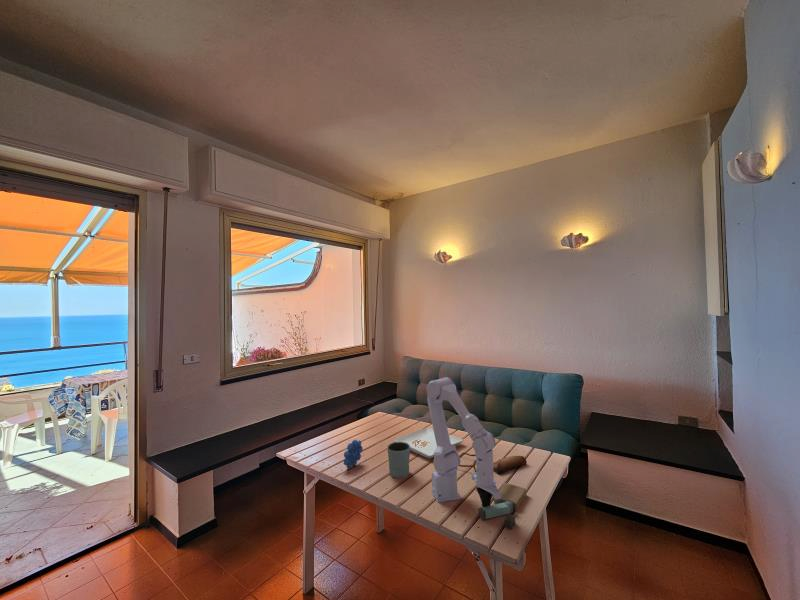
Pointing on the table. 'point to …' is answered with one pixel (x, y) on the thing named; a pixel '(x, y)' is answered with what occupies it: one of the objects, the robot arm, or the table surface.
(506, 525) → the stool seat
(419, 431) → the square plate
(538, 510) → the table surface
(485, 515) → the stool leg
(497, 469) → the sunglasses case
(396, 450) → the green cup
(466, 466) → the glasses
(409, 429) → the table surface
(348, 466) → the grapes
